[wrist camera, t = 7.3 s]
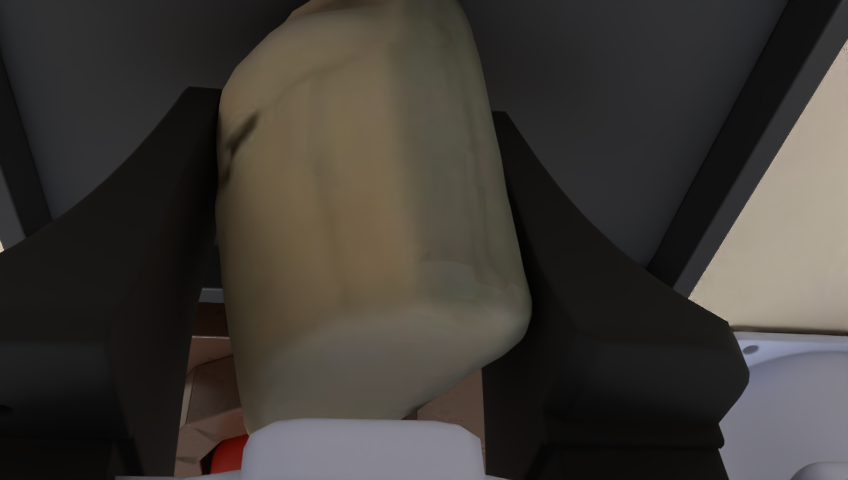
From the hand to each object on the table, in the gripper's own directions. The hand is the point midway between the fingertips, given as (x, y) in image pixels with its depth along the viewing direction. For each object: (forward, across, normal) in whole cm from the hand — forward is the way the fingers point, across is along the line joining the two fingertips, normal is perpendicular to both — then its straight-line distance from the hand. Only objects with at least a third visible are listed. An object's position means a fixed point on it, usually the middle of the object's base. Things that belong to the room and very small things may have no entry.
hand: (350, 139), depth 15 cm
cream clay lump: (+2, 0, 0) cm, 2 cm away
